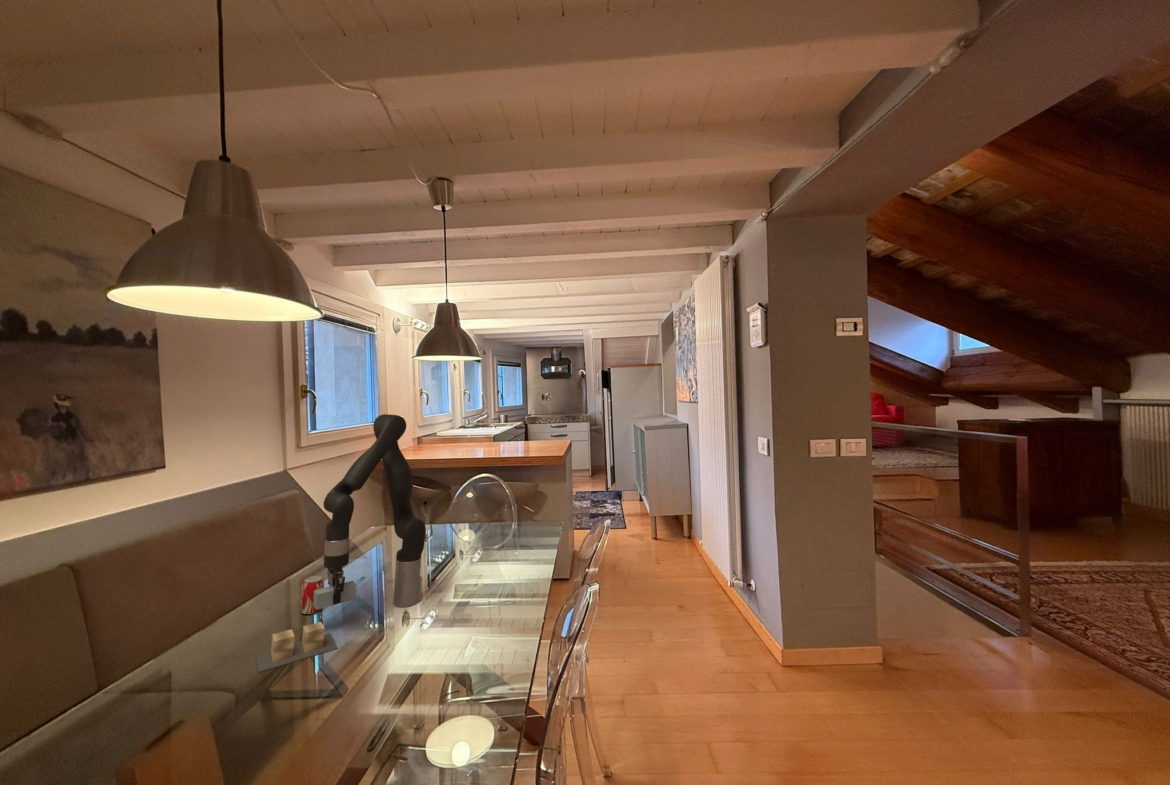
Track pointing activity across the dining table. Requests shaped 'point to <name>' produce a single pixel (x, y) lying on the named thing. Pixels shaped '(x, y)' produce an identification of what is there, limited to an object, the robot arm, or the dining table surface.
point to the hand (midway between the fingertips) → (335, 600)
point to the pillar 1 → (282, 645)
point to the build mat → (298, 654)
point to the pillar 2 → (313, 637)
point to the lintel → (326, 595)
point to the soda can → (310, 594)
